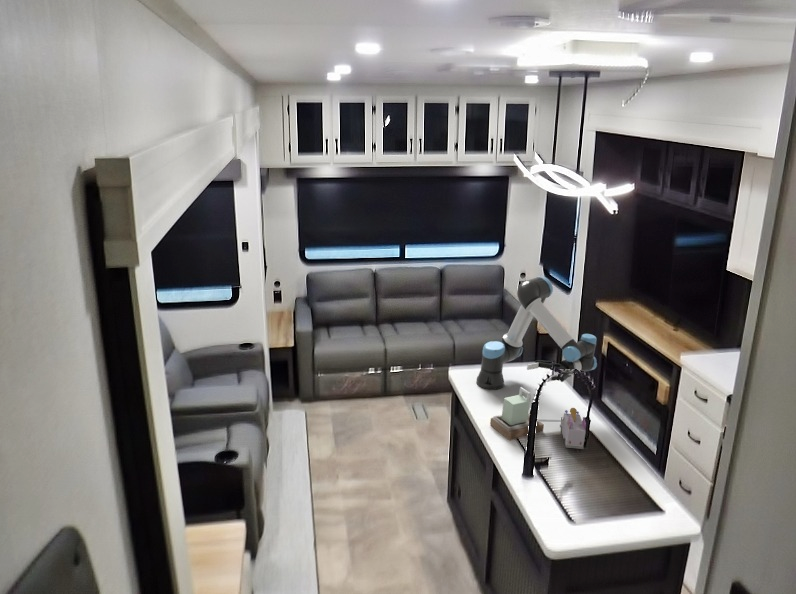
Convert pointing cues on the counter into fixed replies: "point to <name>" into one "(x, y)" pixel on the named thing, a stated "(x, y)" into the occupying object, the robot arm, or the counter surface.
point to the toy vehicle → (573, 429)
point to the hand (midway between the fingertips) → (536, 373)
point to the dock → (513, 428)
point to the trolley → (516, 408)
